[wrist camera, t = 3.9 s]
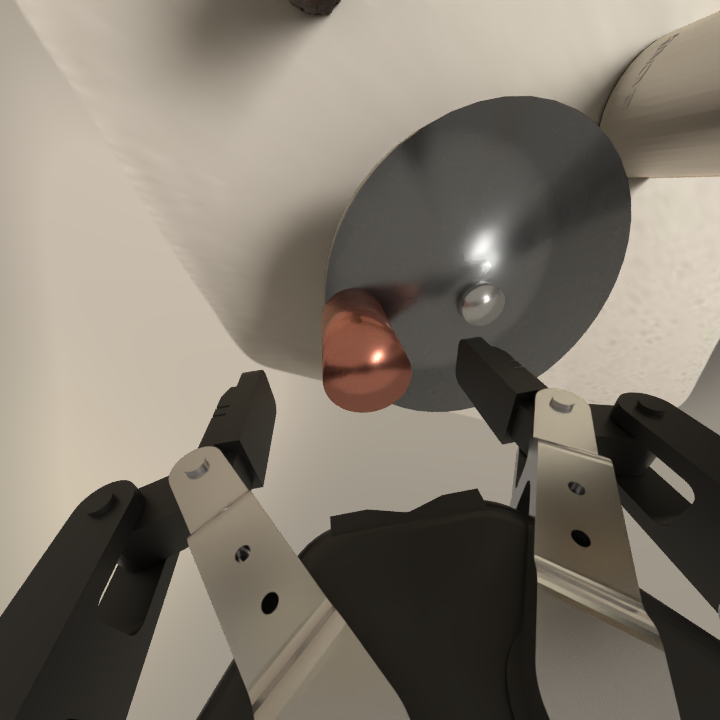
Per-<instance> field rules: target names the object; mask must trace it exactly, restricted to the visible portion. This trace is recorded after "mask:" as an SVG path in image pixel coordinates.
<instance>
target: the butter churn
mask: <svg viewBox="0 0 720 720" xmlns="http://www.w3.org/2000/svg"><path fill="white" fill-rule="evenodd" d="M340 1H341V0H290V2H291V3H292V4H293V5H296V6H297V7H298V8H300V9H301V10H302V11H303V10H304V11H305V12H306V13H310V14H314V15H317V14H318V15H322V14H327V13H328V14H330V13H332V10H333V7H334V5H335V3H336V4H338V3H339V2H340Z"/></svg>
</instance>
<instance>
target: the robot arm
mask: <svg viewBox="0 0 720 720" xmlns="http://www.w3.org/2000/svg"><path fill="white" fill-rule="evenodd" d="M600 129H601V130H602V131H603V132H604V133H605V134H606V135H607V136H608V138H609V139H610V140H611V142H612V144H613V145H614V147H615V149H616V151H617V152H618V154H619V156H620V158H621V160H622V163H623V166H624V169H625V172H626V175H627V178H628V177H649V178H679V177H719V176H720V11H719V12H716V13H714V14H712V15H709V16H707V17H705V18H703V19H700V20H698V21H696V22H693V23H691V24H689V25H687V26H684V27H682V28H680V29H678V30H675V31H673V32H671V33H669V34H667V35H665V36H663V37H661V38H659V39H658V40H656V41H655V42H654V43H652V44H651V45H650V46H649V47H647V48H646V49H645V50H644V51H643V52H642V53H641V54H640V55H639V56H638V57H637V58H636V59H635V60H634V61H633V62H632V63H631V64H630V66H629V67H628V68H627V70H626V71H625V72H624V74H623V75H622V76H621V78H620V79H619V81H618V83H617V85H616V86H615V88H614V90H613V91H612V93H611V95H610V98H609V100H608V102H607V104H606V107H605V109H604V112H603V116H602V119H601V122H600ZM455 373H456V379H457V382H458V384H459V385H460V387H461V388H462V390H463V391H464V392H465V394H466V395H467V396H468V398H469V399H470V401H471V402H472V403H473V405H474V406H475V408H476V409H477V410H478V412H479V413H480V414H481V416H482V417H483V419H484V420H485V421H486V423H487V424H488V425H489V427H490V428H491V430H492V431H493V432H494V434H495V435H496V436H497V438H498V439H499V441H500V442H501V443H502V444H507V443H512V442H516V444H517V445H518V446H519V447H518V450H517V453H516V462H515V471H514V480H513V489H512V497H511V502H510V506H507V505H504V504H501V503H497V502H492V501H486V500H483V498H482V496H481V495H480V493H479V491H478V489H472V490H467V491H462V492H457V493H452V494H446V495H442V496H440V497H438V498H436V499H434V500H432V501H430V502H428V503H426V504H424V505H422V506H421V507H418V508H417V509H414V510H412V511H410V512H393V511H392V512H391V511H380V510H379V511H378V510H363V511H357V512H352V513H347V514H342V515H336V516H331V517H330V519H331V529H330V530H328V531H326V532H324V533H322V534H321V535H320V536H318V537H317V538H315V539H314V540H313V541H312V542H311V543H309V544H308V545H307V546H306V547H305V548H304V549H303V550H302V551H301V552H300V554H299V555H298V556H297V555H296V554H295V552H294V551H293V550H292V548H291V547H290V545H289V544H288V543H287V541H286V540H285V539H284V537H283V536H282V534H281V533H280V532H279V530H278V529H277V527H276V526H275V524H274V523H273V522H272V520H271V519H270V517H269V516H268V514H267V513H266V512H265V510H264V509H263V508H262V506H261V505H260V503H259V502H258V500H257V499H256V498H255V496H254V495H253V493H252V492H251V490H252V489H254V488H260V487H263V485H264V479H265V474H266V468H267V462H268V457H269V451H270V445H271V439H272V434H273V429H274V423H275V417H276V404H275V399H274V396H273V394H272V391H271V388H270V385H269V382H268V380H267V377H266V374H265V372H264V371H263V370H258V371H251V372H245V373H242V375H241V377H240V380H239V382H238V385H237V387H231V388H230V389H229V390H228V391H227V392H226V393H225V394H224V395H223V396H222V397H221V399H220V401H219V403H218V405H217V409H216V410H215V412H214V414H213V418H212V419H211V421H210V423H209V425H208V427H207V430H206V432H205V434H204V437H203V438H202V441H201V443H200V445H199V447H198V449H196V450H194V451H192V452H190V453H188V454H187V455H185V456H184V457H183V458H181V459H180V460H179V461H178V462H177V463H176V464H175V466H174V467H173V469H172V470H171V472H170V475H169V476H167V477H165V478H163V479H160V480H158V481H155V482H153V483H151V484H148V485H146V486H144V487H141V488H139V489H138V488H137V487H136V486H135V485H134V484H133V483H132V482H130V481H127V480H121V481H116V482H112V483H110V484H107V485H105V486H103V487H102V488H100V489H98V490H97V491H95V492H94V493H92V494H90V495H89V496H88V497H87V498H86V499H85V500H83V501H82V502H81V503H80V504H79V505H78V506H77V508H76V509H75V510H74V512H73V513H72V514H71V516H70V517H69V519H68V520H67V521H66V523H65V524H64V526H63V527H62V529H61V530H60V532H59V533H58V534H57V536H56V537H55V539H54V540H53V542H52V543H51V544H50V546H49V547H48V549H47V550H46V552H45V553H44V555H43V556H42V558H41V559H40V560H39V562H38V563H37V565H36V566H35V568H34V569H33V570H32V572H31V573H30V575H29V576H28V578H27V579H26V581H25V582H24V584H23V585H22V586H21V588H20V589H19V591H18V592H17V594H16V595H15V596H14V598H13V599H12V601H11V602H10V604H9V605H8V607H7V608H6V609H5V611H4V613H3V614H2V615H1V617H0V720H126V717H127V714H128V711H129V708H130V705H131V702H132V699H133V696H134V693H135V690H136V686H137V683H138V680H139V677H140V674H141V671H142V668H143V664H144V662H145V658H146V655H147V652H148V649H149V646H150V643H151V640H152V637H153V634H154V630H155V627H156V624H157V621H158V618H159V615H160V612H161V609H162V606H163V603H164V599H165V596H166V593H167V590H168V587H169V584H170V581H171V578H172V575H173V572H174V568H175V565H176V562H177V559H178V556H179V552H180V551H182V550H184V549H186V548H187V547H190V550H191V553H192V555H193V557H194V560H195V562H196V565H197V567H198V570H199V572H200V575H201V577H202V580H203V582H204V585H205V587H206V590H207V592H208V595H209V597H210V600H211V602H212V605H213V607H214V609H215V612H216V615H217V617H218V619H219V622H220V625H221V627H222V629H223V632H224V634H225V637H226V639H227V642H228V644H229V647H230V649H231V652H232V654H233V657H234V659H233V660H232V662H231V664H230V665H229V667H228V669H227V670H226V672H225V674H224V675H223V677H222V678H221V680H220V681H219V683H218V685H217V686H216V688H215V690H214V691H213V693H212V695H211V696H210V698H209V700H208V701H207V703H206V704H205V706H204V708H203V709H202V711H201V713H200V714H199V716H198V717H197V719H196V720H720V640H718V639H717V638H715V637H714V636H712V635H711V634H709V633H708V632H706V631H705V630H703V629H702V628H700V627H699V626H697V625H695V624H694V623H692V622H691V621H689V620H688V619H686V618H685V617H683V616H682V615H680V614H679V613H677V612H676V611H674V610H673V609H671V608H669V607H668V606H666V605H665V604H663V603H662V602H660V601H659V600H657V599H656V598H654V597H653V596H651V595H650V594H648V593H646V592H645V591H643V590H642V589H640V588H639V587H638V582H637V577H636V572H635V567H634V563H633V558H632V553H631V548H630V544H629V539H628V534H627V530H626V525H625V520H624V515H623V511H622V506H623V507H624V508H625V510H626V511H627V512H628V513H629V514H630V515H631V516H632V517H633V518H634V520H635V521H636V522H637V523H638V524H639V525H640V526H641V527H642V529H643V530H644V531H645V532H646V533H647V534H648V535H649V536H650V538H651V539H652V540H653V541H654V542H655V543H656V544H657V545H658V547H659V548H660V549H661V550H662V551H663V552H664V553H665V554H666V555H667V556H668V558H669V559H670V560H671V561H672V562H673V563H674V564H675V566H676V567H677V568H678V569H679V570H680V571H681V572H682V573H683V575H684V576H685V577H686V578H687V579H688V580H689V581H690V582H691V583H692V585H693V586H694V587H695V588H696V589H697V590H698V591H699V592H700V594H701V595H702V596H703V597H704V598H705V599H706V600H707V601H708V602H709V604H710V605H711V606H712V607H713V608H714V609H715V610H716V612H717V613H718V614H719V618H720V436H719V435H718V434H717V433H715V432H713V431H712V430H710V429H709V428H707V427H706V426H704V425H703V424H701V423H700V422H698V421H697V420H695V419H693V418H692V417H690V416H689V415H687V414H686V413H684V412H683V411H681V410H680V409H678V408H677V407H675V406H674V405H672V404H670V403H669V402H667V401H665V400H662V399H660V398H657V397H654V396H651V395H647V394H643V393H624V394H622V395H620V396H619V398H618V399H617V401H616V403H615V405H614V406H612V405H596V404H588V403H587V402H586V401H585V400H584V399H583V398H581V397H580V396H578V395H576V394H574V393H572V392H569V391H566V390H562V389H557V388H548V387H547V386H545V385H544V384H543V383H542V382H541V381H540V380H538V379H537V378H536V377H535V376H534V375H533V374H532V373H530V372H529V371H528V370H527V369H526V368H525V367H522V365H521V364H520V363H519V362H518V361H515V359H514V358H513V357H512V356H511V355H510V354H508V353H507V352H506V351H503V350H501V349H499V348H497V347H495V346H493V347H492V346H490V345H489V344H488V343H487V342H486V341H485V340H484V339H483V338H482V337H473V338H467V339H461V340H460V341H459V344H458V353H457V361H456V370H455ZM656 457H658V458H659V459H660V460H662V461H663V462H664V463H665V464H666V465H667V466H668V467H670V468H671V469H672V470H673V471H674V472H676V473H677V474H678V475H679V476H680V477H682V478H683V479H684V480H685V481H686V482H687V483H688V484H689V485H690V487H691V488H692V490H693V492H694V495H695V500H694V502H693V504H691V503H690V502H688V501H687V500H686V499H685V498H684V497H683V496H682V495H681V494H680V493H678V492H677V491H676V490H675V489H674V488H673V487H672V486H671V485H669V484H668V483H667V482H666V481H665V480H664V479H663V478H662V477H660V476H659V475H658V474H657V473H656V472H655V471H654V470H653V469H652V468H650V467H649V466H650V465H651V463H652V462H653V461H654V459H655V458H656ZM621 505H622V506H621ZM116 564H118V566H117V568H116V570H115V572H114V575H113V577H112V579H111V581H110V583H109V585H108V587H107V589H106V592H105V593H104V596H103V598H102V600H101V602H100V604H99V601H100V598H101V595H102V593H103V591H104V589H105V587H106V585H107V583H108V581H109V578H110V576H111V574H112V572H113V570H114V568H115V566H116ZM98 604H99V606H98Z"/></svg>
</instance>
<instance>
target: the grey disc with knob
mask: <svg viewBox="0 0 720 720" xmlns="http://www.w3.org/2000/svg"><path fill="white" fill-rule="evenodd" d="M630 224H631V197H630V190H629V184H628V178H627V175H626V172H625V169H624V166H623V163H622V160H621V158H620V156H619V154H618V152H617V151H616V149H615V147H614V145H613V144H612V142H611V140H610V139H609V138H608V136H607V135H606V134H605V133H604V132H603V131H602V130H601V129H600V127H599V126H598V125H597V124H596V123H595V122H593V121H592V120H591V119H589V118H588V117H586V116H585V115H584V114H582V113H581V112H579V111H578V110H576V109H574V108H572V107H569V106H567V105H564V104H562V103H560V102H557V101H554V100H549V99H543V98H538V97H533V96H510V97H500V98H495V99H490V100H485V101H480V102H476V103H474V104H471V105H468V106H466V107H463V108H460V109H457V110H455V111H452V112H450V113H448V114H446V115H444V116H443V117H441V118H439V119H437V120H435V121H434V122H432V123H430V124H428V125H426V126H425V127H423V128H421V129H419V130H418V131H416V132H414V133H413V134H412V135H410V136H409V137H408V138H406V139H405V140H404V141H402V142H401V143H400V144H398V145H397V146H396V147H394V148H393V149H392V150H391V151H390V152H389V153H388V154H387V155H386V156H385V157H384V158H383V159H382V160H381V161H380V162H379V163H378V164H377V165H376V166H375V167H374V168H373V169H372V170H371V172H370V173H369V174H368V176H367V177H366V178H365V179H364V181H363V182H362V183H361V185H360V186H359V187H358V188H357V190H356V192H355V193H354V195H353V197H352V199H351V200H350V202H349V204H348V205H347V207H346V209H345V210H344V213H343V215H342V217H341V220H340V222H339V224H338V226H337V229H336V231H335V234H334V237H333V241H332V244H331V247H330V251H329V255H328V261H327V267H326V273H325V306H324V308H323V311H322V361H323V385H324V389H325V392H326V394H327V396H328V397H329V398H330V400H331V401H332V402H333V403H335V404H336V405H338V406H340V407H341V408H343V409H345V410H349V411H353V412H373V411H377V410H380V409H383V408H386V407H387V406H389V405H391V404H394V405H397V406H400V407H403V408H408V409H412V410H417V411H428V412H447V411H456V410H462V409H467V408H472V407H475V406H474V405H473V403H472V402H471V401H470V399H469V398H468V396H467V395H466V394H465V392H464V391H463V390H462V388H461V387H460V385H459V384H458V382H457V379H456V373H455V370H456V361H457V353H458V344H459V341H460V340H461V339H467V338H473V337H482V338H483V339H484V340H485V341H486V342H487V343H488V344H489V345H490V346H492V347H493V346H495V347H497V348H499V349H501V350H503V351H506V352H507V353H508V354H510V355H511V356H512V357H513V358H514V359H515V361H518V362H519V363H520V364H521V365H522V367H525V368H526V369H527V370H528V371H529V372H530V373H532V374H533V375H534V376H535V377H536V378H537V377H538V376H540V375H541V374H543V373H544V372H545V371H547V370H548V369H549V368H550V367H551V366H553V365H554V364H555V363H556V362H557V361H559V360H560V359H561V358H562V357H563V356H564V355H565V354H566V353H567V352H568V351H569V350H570V349H571V348H572V347H573V346H574V345H575V344H576V343H577V341H578V340H579V339H580V338H581V337H582V336H583V334H584V333H585V332H586V331H587V329H588V328H589V327H590V325H591V324H592V322H593V321H594V320H595V318H596V317H597V315H598V314H599V312H600V310H601V309H602V307H603V305H604V304H605V302H606V300H607V299H608V297H609V295H610V293H611V291H612V288H613V286H614V284H615V282H616V280H617V277H618V275H619V272H620V269H621V266H622V264H623V261H624V257H625V253H626V249H627V245H628V240H629V232H630Z"/></svg>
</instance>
